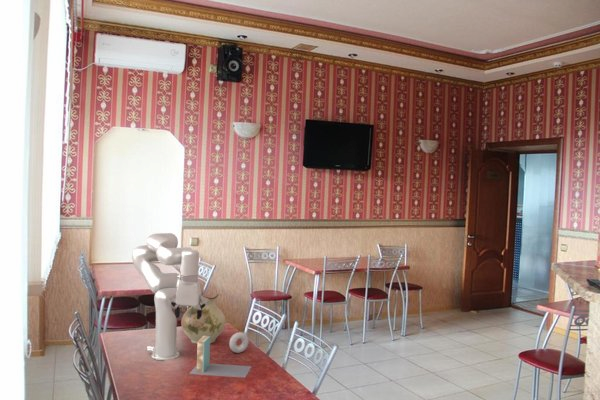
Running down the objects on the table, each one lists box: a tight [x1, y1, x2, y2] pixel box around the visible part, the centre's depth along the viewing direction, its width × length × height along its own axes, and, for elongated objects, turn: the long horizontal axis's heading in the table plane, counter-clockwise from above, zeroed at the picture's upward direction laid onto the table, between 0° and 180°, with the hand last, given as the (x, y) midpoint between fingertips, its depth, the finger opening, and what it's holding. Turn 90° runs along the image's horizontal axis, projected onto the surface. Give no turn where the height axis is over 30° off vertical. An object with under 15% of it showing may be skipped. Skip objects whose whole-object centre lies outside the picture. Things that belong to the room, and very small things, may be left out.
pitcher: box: [180, 293, 226, 345], centre depth 266 cm, size 22×24×25 cm
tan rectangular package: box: [196, 336, 211, 372], centre depth 223 cm, size 3×9×13 cm, turn 174°
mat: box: [189, 362, 253, 379], centre depth 222 cm, size 24×14×1 cm, turn 84°
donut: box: [228, 331, 250, 354], centre depth 248 cm, size 10×4×10 cm, turn 121°
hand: (188, 317), depth 224 cm, fingers open, 9 cm apart
